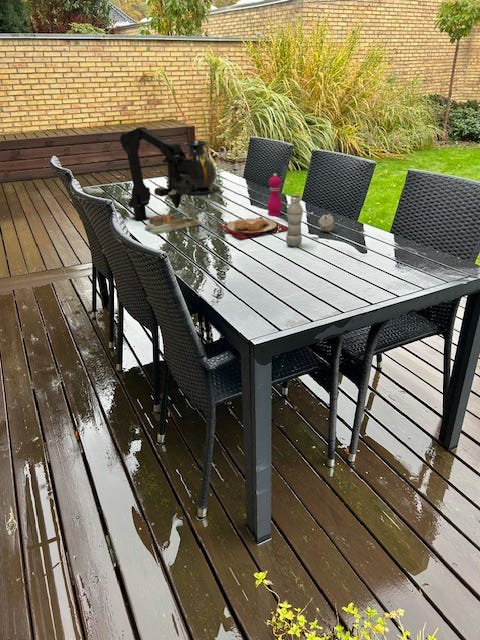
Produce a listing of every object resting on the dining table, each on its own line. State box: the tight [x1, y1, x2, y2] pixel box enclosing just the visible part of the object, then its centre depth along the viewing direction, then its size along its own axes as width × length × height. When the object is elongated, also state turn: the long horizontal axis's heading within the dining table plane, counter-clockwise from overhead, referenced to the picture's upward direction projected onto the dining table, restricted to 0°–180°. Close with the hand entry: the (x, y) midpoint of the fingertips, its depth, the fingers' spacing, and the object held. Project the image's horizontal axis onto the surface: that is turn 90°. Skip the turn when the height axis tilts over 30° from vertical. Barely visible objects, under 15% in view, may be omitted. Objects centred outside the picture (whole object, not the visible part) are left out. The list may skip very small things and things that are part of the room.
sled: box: [146, 213, 171, 230], centre depth 219 cm, size 6×9×4 cm, turn 129°
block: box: [148, 214, 163, 227], centre depth 218 cm, size 4×4×4 cm
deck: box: [144, 214, 201, 235], centre depth 224 cm, size 9×24×4 cm, turn 129°
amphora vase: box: [181, 140, 217, 196], centre depth 279 cm, size 22×22×28 cm
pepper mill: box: [266, 173, 283, 217], centre depth 237 cm, size 7×7×20 cm
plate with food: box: [218, 216, 288, 240], centre depth 221 cm, size 25×26×4 cm
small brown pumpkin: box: [315, 212, 338, 233], centre depth 213 cm, size 9×8×10 cm
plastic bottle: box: [285, 195, 304, 247], centre depth 195 cm, size 6×7×20 cm
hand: (176, 208), depth 222 cm, fingers closed
